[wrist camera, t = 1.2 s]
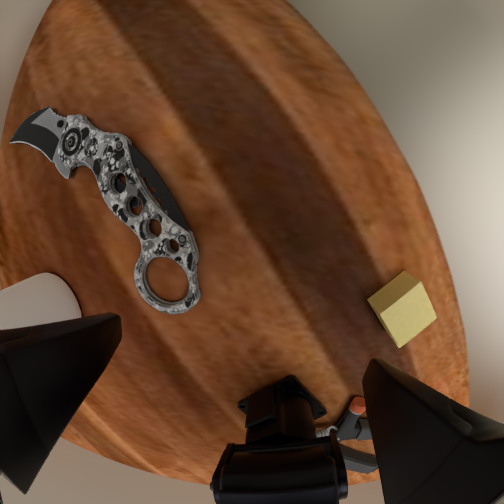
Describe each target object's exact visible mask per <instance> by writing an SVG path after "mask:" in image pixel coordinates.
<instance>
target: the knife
mask: <svg viewBox="0 0 504 504" xmlns="http://www.w3.org/2000/svg"><path fill="white" fill-rule="evenodd" d="M17 142H20V143H27V144H29V145H31V146H33V147H35V148H37V149H39V150H41V151H42V152H43V153H44V154H45V156H46V157H47V158H48V159H49V160H50V161H51V162H55V165H56V168H57V169H58V171H59V172H60V174H61V175H62V176H63V177H65V178H70V177H71V171H72V169H74V168H75V167H76V166H77V167H79V166H81V165H82V166H83V165H84V166H86V167H89V169H91V171H93V173H94V175H95V177H96V180H97V183H98V186H99V189H100V192H101V194H102V197H103V199H104V201H105V202H106V204H107V206H108V207H109V208H110V210H111V211H112V213H113V214H114V215H115V216H116V217H117V218H118V219H119V220H121V221H122V222H123V223H124V224H126V225H127V226H128V227H129V228H131V229H132V230H133V232H134V233H135V234H136V235H137V236H138V238H139V240H140V242H141V254H140V257H139V259H138V261H137V262H136V265H135V269H134V281H135V284H136V288H137V289H138V291H139V293H140V295H141V296H142V297H143V298H144V300H145V301H146V302H147V303H148V304H149V305H151V306H152V307H153V308H155V309H157V310H159V311H161V312H164V313H168V314H180V313H183V312H186V311H188V310H190V309H191V308H192V307H193V306H195V304H196V303H197V301H198V300H199V298H200V297H201V293H200V289H199V284H198V280H197V272H196V271H197V262H198V259H199V255H200V254H199V251H198V248H197V245H196V242H195V239H194V235H193V232H192V231H190V230H189V228H188V226H187V223H186V221H185V219H184V217H183V215H182V213H181V210H180V208H179V206H178V205H177V203H176V201H175V199H174V198H173V196H172V194H171V192H170V191H169V189H168V187H167V186H166V184H165V183H164V181H163V180H162V178H161V177H160V175H159V174H158V172H157V171H156V170H155V169H154V167H153V166H152V165H151V164H150V162H149V161H148V160H147V159H146V158H145V157H144V156H143V155H142V154H141V153H140V152H139V151H138V150H137V149H136V148H135V147H134V146H133V145H132V144H131V141H130V140H129V139H128V138H127V137H126V136H125V135H123V134H119V133H109V132H104V131H101V130H99V129H98V128H95V127H94V126H93V125H92V124H91V123H90V122H89V121H88V119H87V118H86V116H85V115H81V114H77V115H69V116H67V118H66V117H63V116H59V115H57V114H56V113H54V111H53V110H52V109H51V108H50V107H46V108H43V109H41V110H39V111H37V112H35V113H33V114H32V115H31V116H29V117H28V118H27V119H26V120H25V121H24V122H23V123H22V124H21V125H20V126H19V127H18V129H17V130H16V132H15V133H14V135H13V136H12V138H11V140H10V142H9V143H17ZM138 168H139V170H138ZM119 173H123V174H124V175H125V177H126V181H127V183H126V186H125V185H124V184H123V183H122V182H121V181H120V179H119V178H118V177H117V175H118V174H119ZM142 177H146V178H147V185H148V186H149V187H153V188H154V189H155V191H154V197H155V198H156V199H160V200H161V204H159V203H158V202H157V200H156V199H155V198H154V197H153V195H152V194H151V193H150V191H149V189H148V188H147V186H146V184H145V182H144V181H143V179H142ZM115 181H117V182H118V185H117V186H115V184H114V183H115ZM137 197H138V198H139V199H140V200H141V202H142V212H141V214H140V215H139V216H136V215H134V214H133V213H132V211H131V209H130V204H131V205H132V206H133V207H137V206H139V203H140V202H139V199H138V198H137ZM166 210H167V211H166ZM152 219H157V220H158V221H159V222H160V224H161V227H162V232H161V234H160V235H159V236H155V235H154V234H152V232H151V231H150V226H149V224H150V221H151V220H152ZM171 239H174V240H176V241H177V243H178V244H179V250H178V251H174V250H173V249H172V248H171V246H170V240H171ZM156 257H167V258H170V259H172V260H174V261H176V262H177V263H178V264H179V265H180V266H181V267H182V268H183V269H184V270H185V272H186V274H187V276H188V281H189V290H188V294H187V296H186V297H185V298H184V299H183V300H181V301H178V302H167V301H164V300H162V299H160V298H159V297H157V296H156V295H155V294H154V293H153V292H152V291H151V289H150V288H149V286H148V284H147V280H146V269H147V266H148V264H149V262H150V261H151V260H152V259H153V258H156Z"/></svg>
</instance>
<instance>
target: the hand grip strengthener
mask: <svg viewBox="0 0 504 504" xmlns="http://www.w3.org/2000/svg"><path fill="white" fill-rule="evenodd" d="M365 410H366V406H365V399H364V398H362V397H355V398H354V399H353V401H352V402H351V404H350V406H349V408H348V410H347V412H346V413H345V415H344V416H343V417H342V418H341V420H340V421H339V422H338V423H337V425H336V426H330V427H328V428H327V429H321V430H317V432H316V434H317V437H323V436H329V434H334V433H335V434H336V437H337V440H338V442H340V441H341V440H348V439H356V440H358V441H360V440H368V439H372V436H371V431H370V427H369V423H368V419H359V417H360V415H361V414H362V413H363V412H364V411H365ZM331 428H333V429H332V431H331V432H330V429H331ZM339 446H340V449H341V452H342V455H343V458H344V462H345V466H346V469H347V470H351V471H356V472H361V473H367V474H368V473H370V472H373V471H375V470H376V469H378V463H377V458H376V457H373V456H372V455H370V454H365V453H362V452H359V451H355V450H352V449H350V448H347V447H345V446H342V445H340V444H339Z"/></svg>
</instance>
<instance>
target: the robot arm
mask: <svg viewBox="0 0 504 504" xmlns="http://www.w3.org/2000/svg"><path fill="white" fill-rule="evenodd" d="M121 338H122V327H121V317H120V316H119V315H118V314H115V313H111V312H109V313H103V314H98V315H93V316H87V317H82V318H76V319H70V320H65V321H59V322H53V323H47V324H41V325H34V326H28V327H21V328H13V329H3V330H0V475H3V476H4V477H5V478H6V479H7V480H8V481H9V482H10V483H11V484H13V485H14V486H15V487H16V488H17V489H19V490H20V491H21V492H22V493H23V494H26V493H27V492H28V490H29V488H30V486H31V484H32V483H33V481H34V479H35V478H36V476H37V474H38V472H39V471H40V469H41V467H42V465H43V464H44V462H45V460H46V459H47V457H48V455H49V454H50V452H51V450H52V449H53V447H54V445H55V444H56V442H57V440H58V439H59V437H60V436H61V434H62V433H63V431H64V429H65V428H66V426H67V425H68V423H69V422H70V420H71V419H72V417H73V416H74V414H75V413H76V411H77V410H78V408H79V407H80V405H81V404H82V402H83V401H84V399H85V398H86V396H87V395H88V393H89V392H90V390H91V389H92V387H93V386H94V385H95V383H96V382H97V380H98V379H99V377H100V376H101V375H102V373H103V372H104V370H105V368H106V367H107V365H108V363H109V361H110V359H111V358H112V356H113V354H114V352H115V350H116V349H117V347H118V345H119V343H120V341H121ZM290 380H293V381H292V382H290ZM362 384H363V391H364V398H365V406H366V413H367V419H368V423H369V427H370V431H371V436H372V440H373V444H374V449H375V454H376V458H377V463H378V468H379V473H380V479H381V484H382V489H383V496H384V501H385V504H504V424H502V423H499V422H497V421H495V420H492V419H490V418H488V417H486V416H483V415H481V414H479V413H477V412H475V411H473V410H471V409H469V408H467V407H465V406H463V405H461V404H459V403H457V402H456V401H454V400H452V399H449V397H447V396H445V395H443V394H441V393H440V392H438V391H436V390H435V389H433V388H431V387H429V386H428V385H426V384H424V383H422V382H421V381H419V380H417V379H416V378H414V377H412V376H410V375H409V374H407V373H405V372H404V371H402V370H400V369H399V368H397V367H395V366H394V365H392V364H390V363H389V362H387V361H385V360H384V359H379V358H373V359H371V360H370V362H369V364H368V366H367V369H366V371H365V374H364V376H363V380H362ZM242 405H244V406H242ZM238 408H239V409H240V410H241V411H242V412H244V413H245V414H246V423H245V428H247V433H246V441H245V444H235V443H228V444H227V446H226V449H225V450H224V452H223V454H222V456H221V459H220V461H219V463H218V465H217V468H216V470H215V472H214V474H213V477H212V482H211V483H210V489H211V490H212V491H213V494H214V499H215V502H216V504H339V500H340V499H346V498H347V494H348V481H347V472H346V466H345V462H344V458H343V455H342V452H341V449H340V446H339V443H338V440H337V437H336V434H335V433H334V434H329V436H323V437H317V434H316V427H315V420H316V419H318V418H320V417H322V416H324V415H325V414H326V413H327V411H326V408H325V407H324V406H323V405H322V404H321V403H320V402H319V401H318V400H317V399H316V398H315V397H314V396H313V395H312V394H311V393H310V392H309V391H308V389H307V388H306V387H305V386H304V385H303V384H302V383H301V382H300V381H299V380H298V379H297V378H296V377H295V376H292V375H290V376H287V377H286V378H284V379H282V380H280V381H278V382H276V383H275V384H273V385H270V386H268V387H266V388H264V389H262V390H260V391H258V392H256V393H254V394H252V395H250V396H249V397H247V398H245V399H243V400H241V401H239V402H238ZM321 411H322V412H321ZM0 504H3V501H2V497H1V492H0Z"/></svg>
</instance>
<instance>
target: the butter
mask: <svg viewBox="0 0 504 504" xmlns="http://www.w3.org/2000/svg"><path fill="white" fill-rule="evenodd" d="M367 301H368V302H369V304H370V305H371V307H372V309H373V310H374V312H375V313H376V315H377V317H378V318H379V320H380V322H381V323H382V325H383V327H384V328H385V330H386V332H387V333H388V334H389V336H390V337H391V338H392V340H393V341H394V342H395V344H396V345H397V346H398V348H400V347H402V346H403V345H404V344H406V343H407V342H408V341H410V340H411V339H412V338H413V337H415V336H416V335H417V334H418V333H420V332H421V331H422V330H423V329H424V328H426V327H427V326H428V325H429V324H430V323H432V322H433V321H434V320H435V319H436V318H437V316H436V314H435V311H434V309H433V307H432V304H431V302H430V300H429V298H428V295H427V293H426V291H425V289H424V287H423V284H422V282H421V281H420V280H418V279H417V278H415V277H414V276H412V275H411V274H409V273H408V272H406V271H402V272H401V273H400V274H399V275H398V276H396V277H395V278H394V279H393V280H391V281H390V282H389V283H388V284H386V285H385V286H384V287H383V288H381V289H380V290H379V291H377V292H376V293H375V294H374V295H372V296H371V297H370V298H368V299H367Z"/></svg>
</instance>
